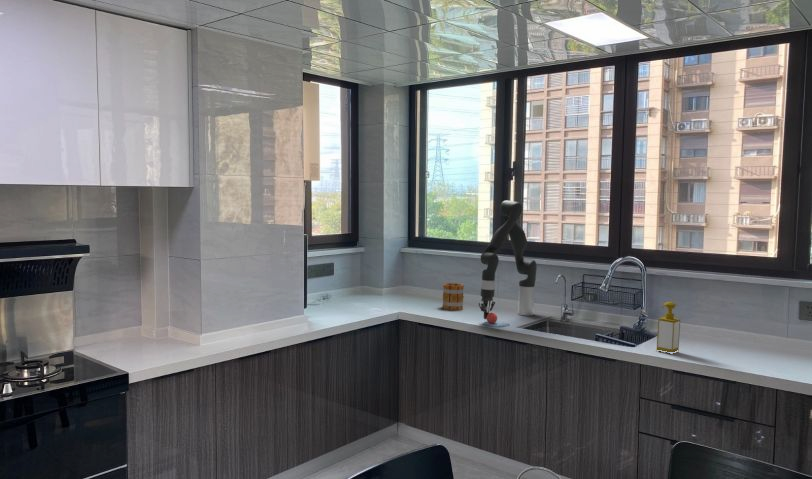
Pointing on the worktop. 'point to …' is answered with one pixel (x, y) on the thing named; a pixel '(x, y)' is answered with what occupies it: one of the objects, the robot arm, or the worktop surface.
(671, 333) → the soap bottle
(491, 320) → the ball
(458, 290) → the brown wooden cylinder
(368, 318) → the worktop surface
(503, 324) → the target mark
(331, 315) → the worktop surface
